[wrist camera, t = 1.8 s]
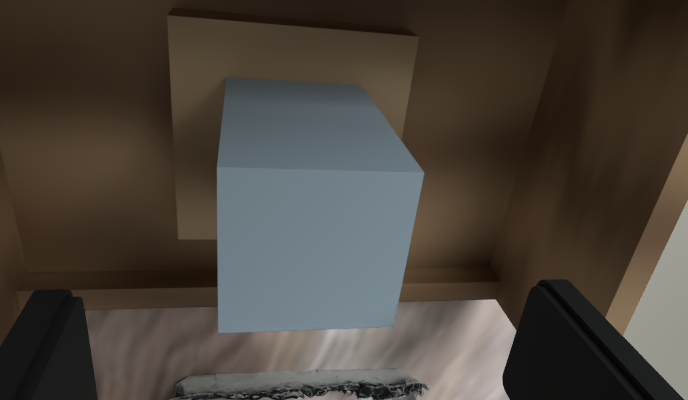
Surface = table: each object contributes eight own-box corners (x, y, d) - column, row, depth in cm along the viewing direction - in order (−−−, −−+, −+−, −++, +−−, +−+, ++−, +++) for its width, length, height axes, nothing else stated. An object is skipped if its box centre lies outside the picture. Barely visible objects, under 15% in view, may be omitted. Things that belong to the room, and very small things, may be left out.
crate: (-91, -151, 14) (-402, -217, 7) (597, -59, 19) (804, -46, 12) (12, 280, 21) (-100, 454, 14) (496, 273, 26) (590, 403, 19)
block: (226, 76, 16) (216, 166, 10) (361, 85, 17) (424, 173, 11) (226, 198, 19) (217, 333, 13) (346, 200, 19) (393, 327, 13)
